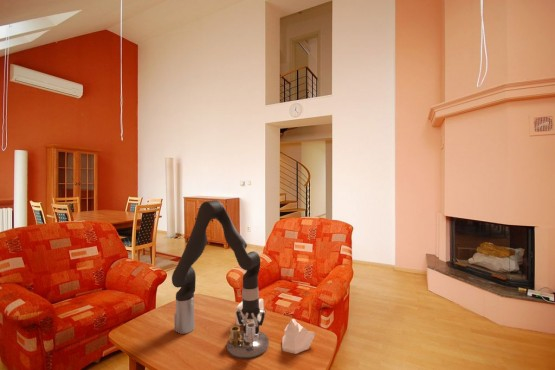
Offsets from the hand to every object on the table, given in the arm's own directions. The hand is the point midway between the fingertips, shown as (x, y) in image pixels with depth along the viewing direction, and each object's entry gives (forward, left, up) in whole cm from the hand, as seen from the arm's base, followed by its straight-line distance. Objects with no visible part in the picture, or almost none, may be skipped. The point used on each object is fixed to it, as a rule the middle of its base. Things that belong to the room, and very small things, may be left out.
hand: (251, 332), depth 120 cm
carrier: (-3, +6, -9) cm, 11 cm away
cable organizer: (-7, +26, -10) cm, 28 cm away
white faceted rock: (+20, +8, -10) cm, 23 cm away
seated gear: (-10, +6, -8) cm, 13 cm away
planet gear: (0, 0, -2) cm, 2 cm away
